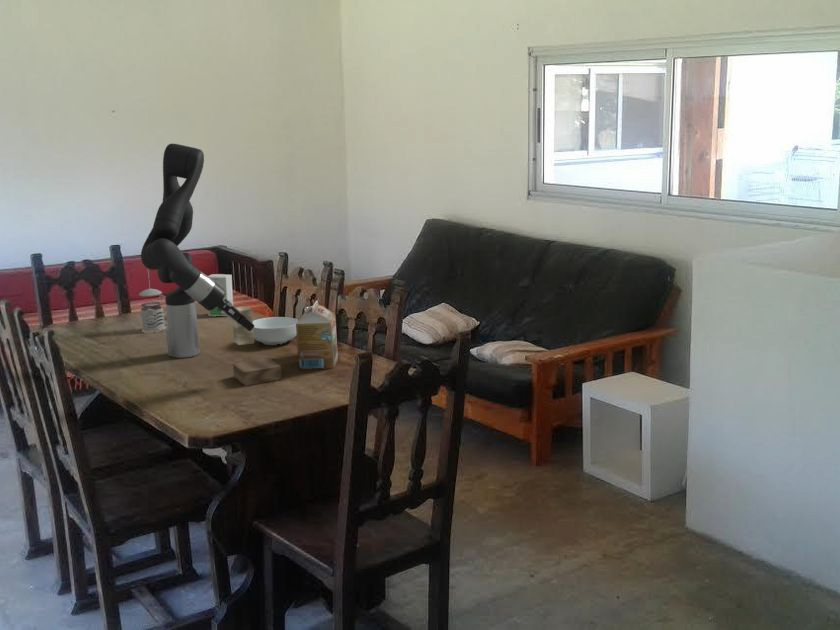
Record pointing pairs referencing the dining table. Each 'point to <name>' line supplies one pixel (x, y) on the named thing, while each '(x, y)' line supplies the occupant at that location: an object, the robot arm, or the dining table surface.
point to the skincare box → (226, 284)
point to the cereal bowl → (274, 330)
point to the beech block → (243, 328)
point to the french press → (152, 311)
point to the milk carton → (317, 338)
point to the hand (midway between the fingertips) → (249, 326)
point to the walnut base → (257, 371)
